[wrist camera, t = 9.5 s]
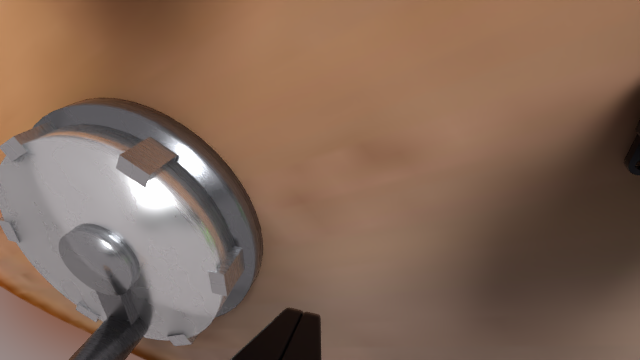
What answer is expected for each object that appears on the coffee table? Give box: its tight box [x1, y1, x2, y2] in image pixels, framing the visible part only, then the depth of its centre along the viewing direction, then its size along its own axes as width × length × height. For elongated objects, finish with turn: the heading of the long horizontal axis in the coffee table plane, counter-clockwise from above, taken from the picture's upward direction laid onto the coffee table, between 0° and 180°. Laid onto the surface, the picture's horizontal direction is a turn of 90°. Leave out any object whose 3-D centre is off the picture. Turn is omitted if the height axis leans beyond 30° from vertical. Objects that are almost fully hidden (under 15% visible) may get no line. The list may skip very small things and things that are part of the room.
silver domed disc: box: [0, 121, 245, 360], centre depth 20 cm, size 16×17×14 cm
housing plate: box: [33, 98, 263, 317], centre depth 27 cm, size 18×18×2 cm
